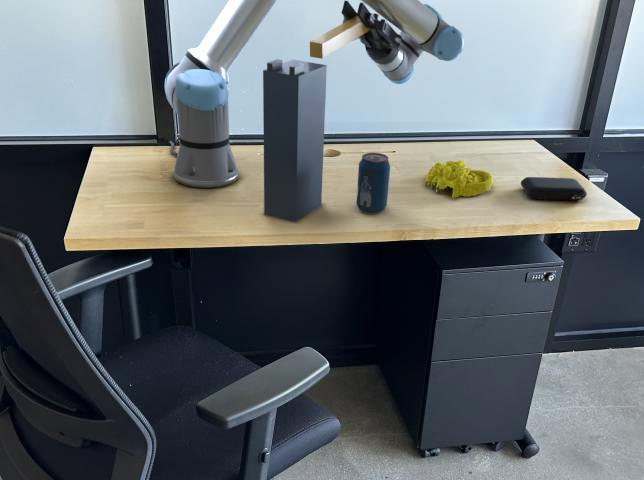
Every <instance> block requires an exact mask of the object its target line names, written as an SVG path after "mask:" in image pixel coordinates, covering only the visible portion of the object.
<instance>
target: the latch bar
mask: <svg viewBox="0 0 644 480" xmlns="http://www.w3.org/2000/svg"><path fill="white" fill-rule="evenodd" d="M370 13H371V14H373V13H372V12H370ZM342 23H343V22H342ZM342 23H341V24H339V25H337V26H336V27H334V28H332V29H330V30H328V31H326V32H325V33H322V34H321V35H319V36H317V37H316V38H314V39H311V40H310V41H309V57H310V58H315V59H322V60H323V59H324V58H326V57H329V55H331V54H333V53H335V52H336V51H338V50H339V49H341V48H344V47H345V46H346V45H348V44H350V43H351V42H353V40H354V41H356V40H357V39H356V38H358V37H360V36H361V35H363V34H365V33H366V32H368V31H370V30H371V29H370V27H369V28H366V27H365V25H364V24H363V23H362V21H361V20H360V19H359V18H358V16H356V17H354V18H352V19H350V20H348V21H346V22H345V23H343V24H342ZM355 39H356V40H355Z"/></svg>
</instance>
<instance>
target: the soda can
mask: <svg viewBox="0 0 644 480" xmlns="http://www.w3.org/2000/svg"><path fill="white" fill-rule="evenodd" d="M390 173H391V163H390V161H389V156H388V155H386V154H384V153H381V152H367V153H363V154H362V156H361V159H360V161H359V162H358V173H357V184H356V185H357V186H356V200H355V203H356V206H357V208H358V211H360V212H361V213H364V214H366V215H379V214H381V213H383V212H384V211H385V209H386V208H387V206H388V198H389V197H388V196H389V186H390V175H391V174H390Z"/></svg>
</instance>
